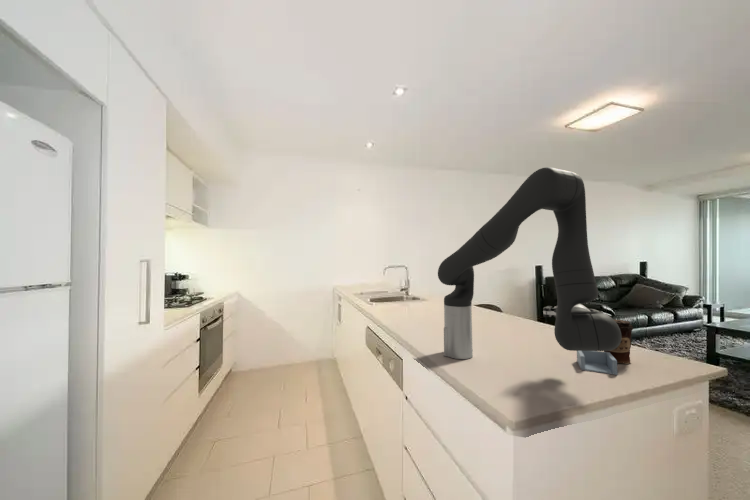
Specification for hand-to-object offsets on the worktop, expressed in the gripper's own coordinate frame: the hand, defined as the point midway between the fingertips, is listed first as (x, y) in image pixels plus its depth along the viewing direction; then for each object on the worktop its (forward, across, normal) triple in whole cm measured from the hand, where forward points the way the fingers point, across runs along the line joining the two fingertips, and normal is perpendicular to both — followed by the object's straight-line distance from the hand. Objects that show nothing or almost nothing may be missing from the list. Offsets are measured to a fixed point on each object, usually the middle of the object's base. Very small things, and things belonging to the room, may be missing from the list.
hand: (568, 309), depth 85 cm
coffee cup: (+16, -14, +18) cm, 28 cm away
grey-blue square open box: (+5, -7, +18) cm, 20 cm away
